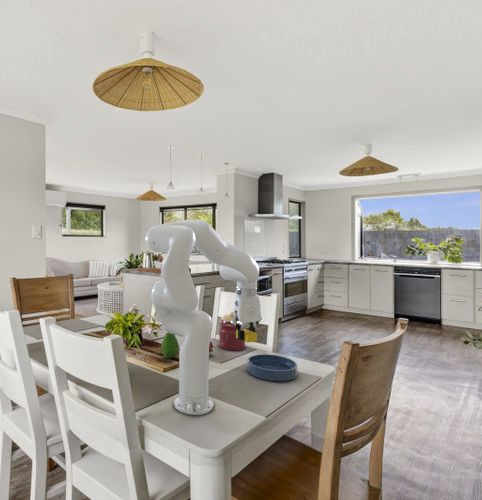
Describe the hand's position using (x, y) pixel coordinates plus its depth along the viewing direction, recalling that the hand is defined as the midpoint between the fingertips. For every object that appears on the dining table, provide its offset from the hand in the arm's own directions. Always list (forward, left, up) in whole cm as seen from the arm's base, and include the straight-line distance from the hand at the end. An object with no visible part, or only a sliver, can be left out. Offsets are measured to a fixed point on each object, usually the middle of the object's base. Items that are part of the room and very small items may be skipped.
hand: (246, 338), depth 140 cm
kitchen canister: (+40, +1, -16) cm, 43 cm away
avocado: (+20, +31, -16) cm, 40 cm away
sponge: (0, 0, 0) cm, 0 cm away
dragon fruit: (+25, +16, -16) cm, 34 cm away
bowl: (+7, -11, -16) cm, 21 cm away
